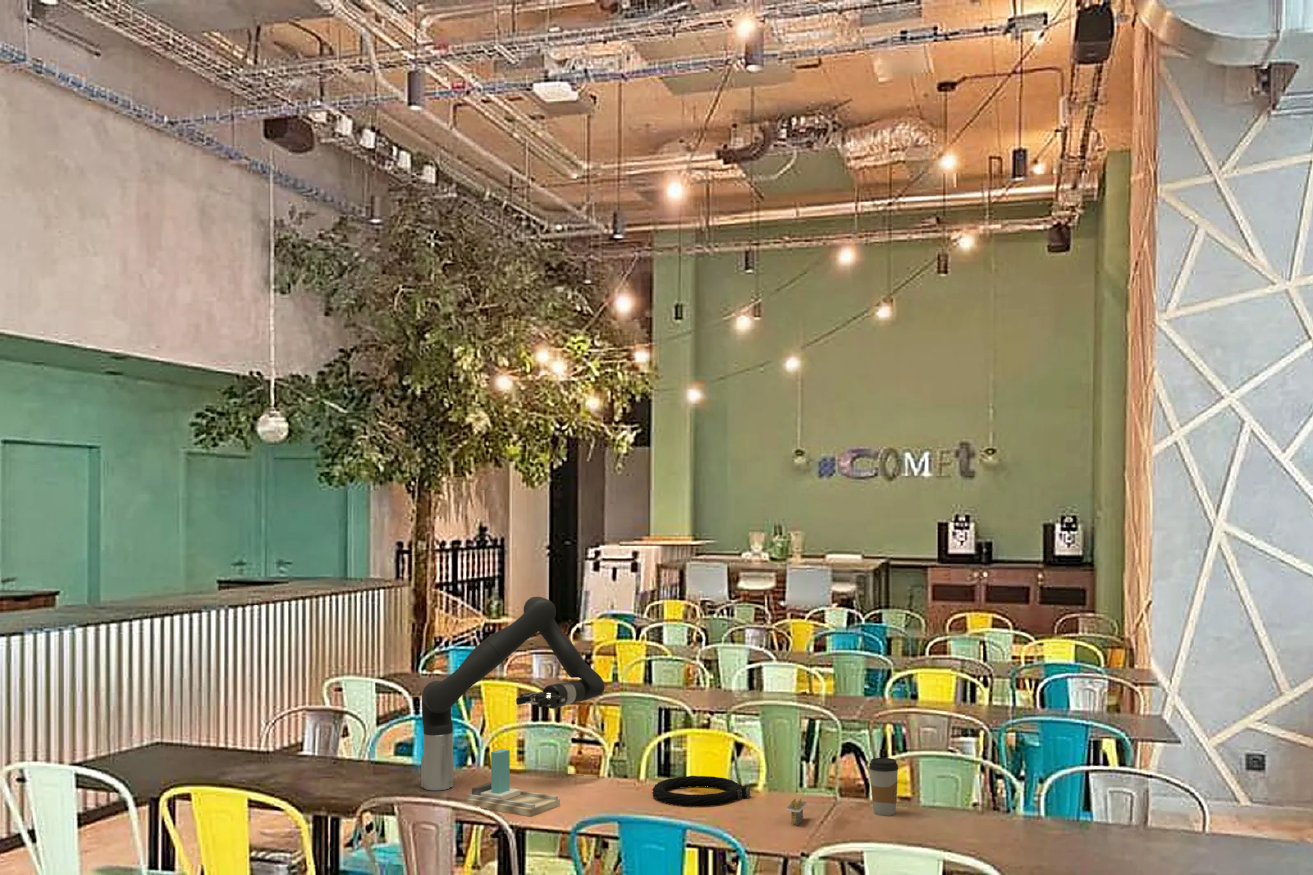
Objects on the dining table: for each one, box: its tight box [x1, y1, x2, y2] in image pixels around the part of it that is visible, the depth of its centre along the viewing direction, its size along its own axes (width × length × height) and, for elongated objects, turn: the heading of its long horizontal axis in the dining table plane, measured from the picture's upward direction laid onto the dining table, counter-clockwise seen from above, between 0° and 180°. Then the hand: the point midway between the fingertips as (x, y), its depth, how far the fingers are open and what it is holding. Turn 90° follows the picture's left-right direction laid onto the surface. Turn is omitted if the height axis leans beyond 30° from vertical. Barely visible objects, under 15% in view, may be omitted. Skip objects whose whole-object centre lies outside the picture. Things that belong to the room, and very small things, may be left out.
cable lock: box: [651, 775, 751, 807], centre depth 377 cm, size 28×4×30 cm
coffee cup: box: [868, 757, 899, 817], centre depth 355 cm, size 8×8×15 cm
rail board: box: [464, 781, 561, 817], centre depth 368 cm, size 25×14×5 cm, turn 58°
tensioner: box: [481, 748, 521, 800], centre depth 371 cm, size 8×9×14 cm
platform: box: [786, 797, 808, 827], centre depth 346 cm, size 12×18×7 cm, turn 161°
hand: (527, 702), depth 384 cm, fingers open, 8 cm apart
